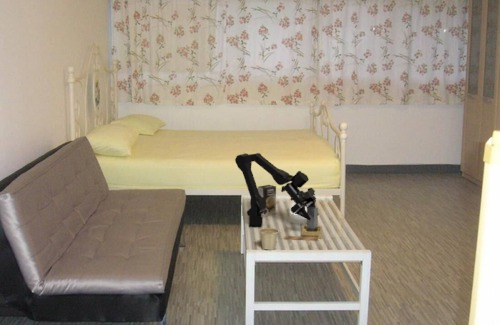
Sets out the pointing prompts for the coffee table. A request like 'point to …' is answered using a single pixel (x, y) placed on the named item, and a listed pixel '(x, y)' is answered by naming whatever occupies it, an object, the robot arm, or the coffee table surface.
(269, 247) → the flower pot
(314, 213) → the bar
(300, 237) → the door edge strip
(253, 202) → the robot arm
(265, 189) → the coffee box
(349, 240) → the coffee table surface
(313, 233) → the keeper
